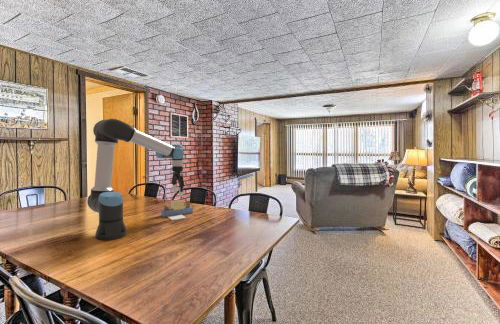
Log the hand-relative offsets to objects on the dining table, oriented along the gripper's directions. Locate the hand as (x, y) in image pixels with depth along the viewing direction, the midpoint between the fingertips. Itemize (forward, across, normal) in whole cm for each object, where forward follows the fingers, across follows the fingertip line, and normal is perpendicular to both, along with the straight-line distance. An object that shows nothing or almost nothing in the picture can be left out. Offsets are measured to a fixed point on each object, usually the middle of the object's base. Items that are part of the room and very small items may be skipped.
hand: (177, 194), depth 186 cm
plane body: (+14, 0, 0) cm, 14 cm away
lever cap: (+10, 0, 0) cm, 10 cm away
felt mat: (+14, -10, +4) cm, 18 cm away
